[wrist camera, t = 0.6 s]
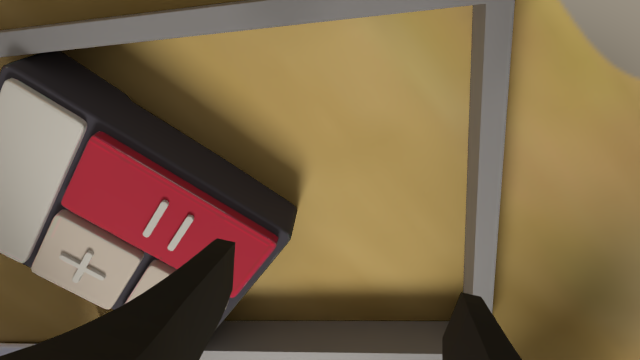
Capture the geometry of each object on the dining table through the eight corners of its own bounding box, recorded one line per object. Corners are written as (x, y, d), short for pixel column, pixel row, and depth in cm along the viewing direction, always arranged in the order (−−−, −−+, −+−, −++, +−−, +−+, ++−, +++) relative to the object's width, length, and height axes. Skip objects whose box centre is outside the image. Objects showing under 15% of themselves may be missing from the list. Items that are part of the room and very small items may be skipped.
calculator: (192, 364, 26) (-63, 237, 23) (214, 310, 30) (-2, 195, 26) (292, 245, 21) (-12, 64, 18) (302, 200, 25) (53, 43, 22)
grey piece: (105, 331, 30) (83, 360, 28) (-27, 33, 22) (-74, 41, 19) (478, 333, 26) (488, 367, 24) (499, -31, 18) (517, -30, 15)
